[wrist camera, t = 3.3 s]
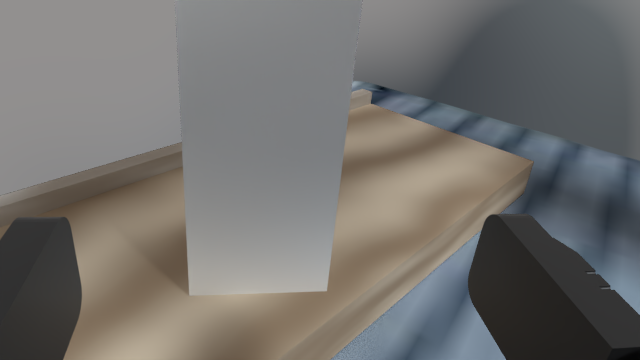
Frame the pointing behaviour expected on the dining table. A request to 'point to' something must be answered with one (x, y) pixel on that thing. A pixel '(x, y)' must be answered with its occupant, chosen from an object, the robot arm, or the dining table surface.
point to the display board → (270, 308)
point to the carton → (263, 139)
